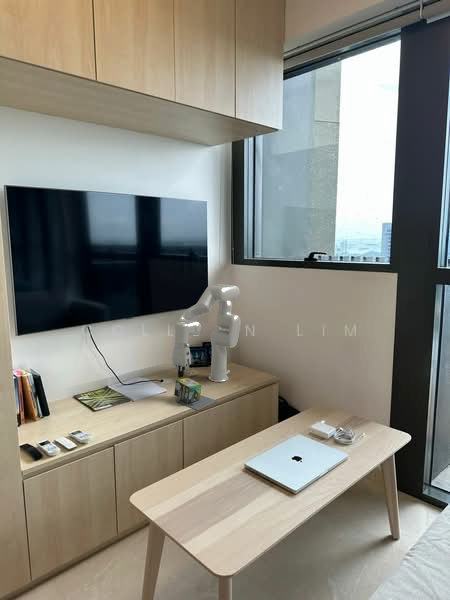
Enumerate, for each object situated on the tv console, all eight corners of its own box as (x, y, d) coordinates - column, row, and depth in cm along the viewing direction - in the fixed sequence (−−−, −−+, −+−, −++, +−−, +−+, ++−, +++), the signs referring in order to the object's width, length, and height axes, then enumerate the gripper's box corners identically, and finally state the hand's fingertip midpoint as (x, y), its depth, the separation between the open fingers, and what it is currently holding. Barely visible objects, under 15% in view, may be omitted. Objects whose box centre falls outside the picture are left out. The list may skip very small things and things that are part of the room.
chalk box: (185, 392, 226) (204, 402, 217) (173, 395, 219) (191, 406, 210) (188, 376, 224) (206, 386, 215) (175, 379, 218) (194, 390, 208)
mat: (195, 393, 228) (195, 391, 228) (217, 401, 219) (217, 399, 219) (176, 402, 215) (176, 400, 215) (198, 410, 206) (198, 408, 206)
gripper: (196, 346, 218) (195, 378, 221) (176, 341, 227) (175, 372, 230) (186, 349, 212) (186, 382, 215) (166, 343, 221) (166, 375, 224)
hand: (180, 377), depth 222 cm, fingers closed
